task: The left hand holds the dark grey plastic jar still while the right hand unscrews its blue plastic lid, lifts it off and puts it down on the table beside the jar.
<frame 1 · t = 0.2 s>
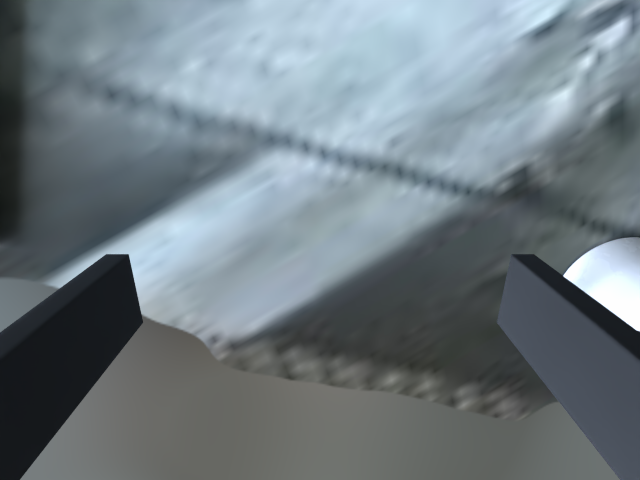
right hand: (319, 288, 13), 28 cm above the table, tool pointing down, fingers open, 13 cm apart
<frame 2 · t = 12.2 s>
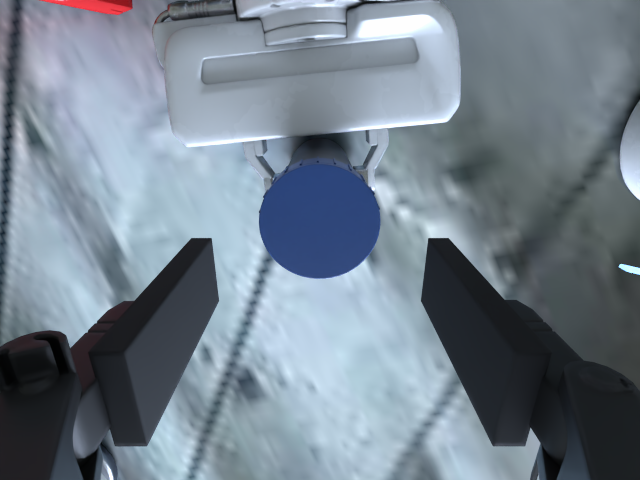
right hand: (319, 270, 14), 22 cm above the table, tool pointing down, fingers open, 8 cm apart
left hand: (321, 194, 29), fingers closed on jar, 5 cm apart
lid: (319, 222, 19), point 16 cm above the table, screwed on, not yet turned
jar: (319, 168, 34), on the table, touching left hand
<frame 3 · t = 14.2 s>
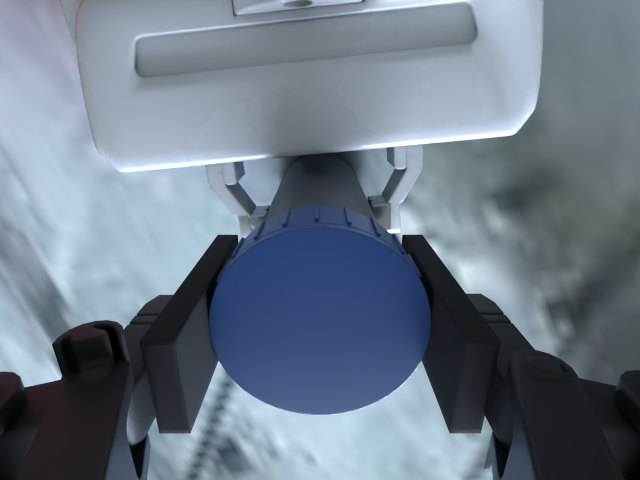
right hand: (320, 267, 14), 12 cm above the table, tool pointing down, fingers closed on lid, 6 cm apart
lid: (320, 325, 11), point 16 cm above the table, screwed on, not yet turned, touching right hand
jar: (320, 192, 26), on the table, touching left hand
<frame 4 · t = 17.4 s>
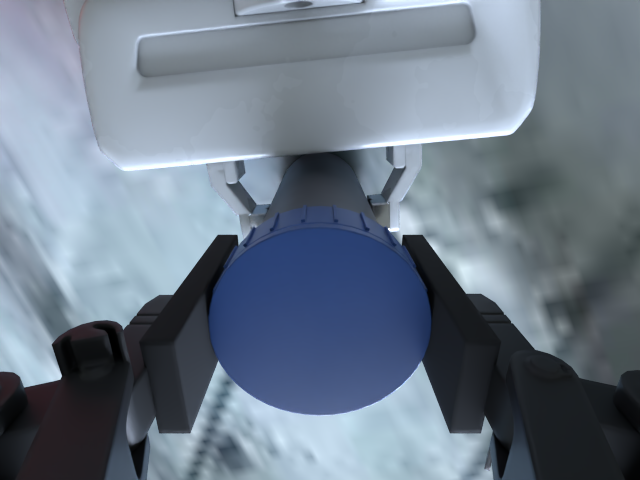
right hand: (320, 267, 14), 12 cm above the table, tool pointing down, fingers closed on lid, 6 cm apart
lid: (320, 325, 11), point 16 cm above the table, turned 85° so far, risen 0.2 cm, still on its thread, touching right hand
jar: (320, 191, 26), on the table, touching left hand
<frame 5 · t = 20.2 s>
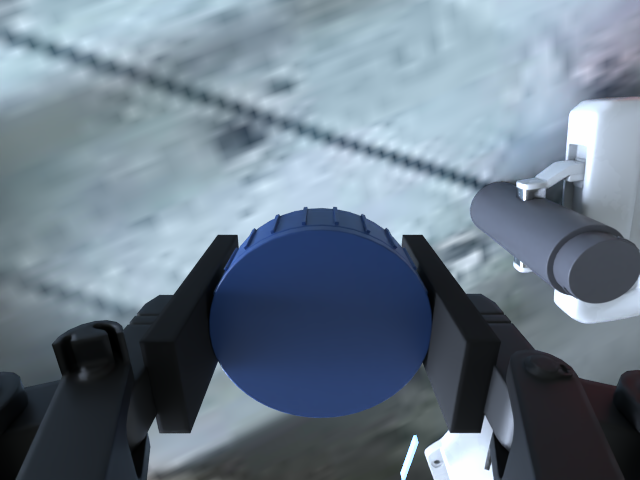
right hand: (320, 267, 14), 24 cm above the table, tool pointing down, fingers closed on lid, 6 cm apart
left hand: (517, 228, 33), fingers closed on jar, 5 cm apart
lid: (320, 327, 11), point 28 cm above the table, off its thread, touching right hand
jar: (496, 207, 39), on the table, touching left hand
when the right hand's fingers open (0 cm above the table, at t = 23.5 s): lid drops 2 cm, point 2 cm above the table.
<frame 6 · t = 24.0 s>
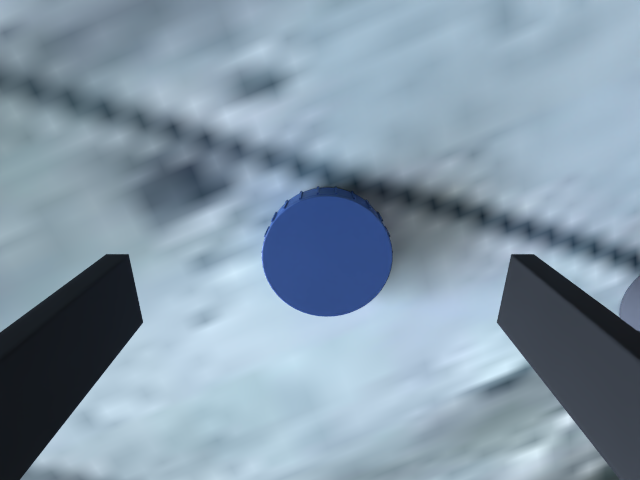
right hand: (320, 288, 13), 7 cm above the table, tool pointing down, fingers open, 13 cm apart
lid: (327, 257, 18), point 2 cm above the table, off its thread
when the left hand's fingers open (6 cm above the table, at t = 24.3 s): jar stays where it is, on the table.
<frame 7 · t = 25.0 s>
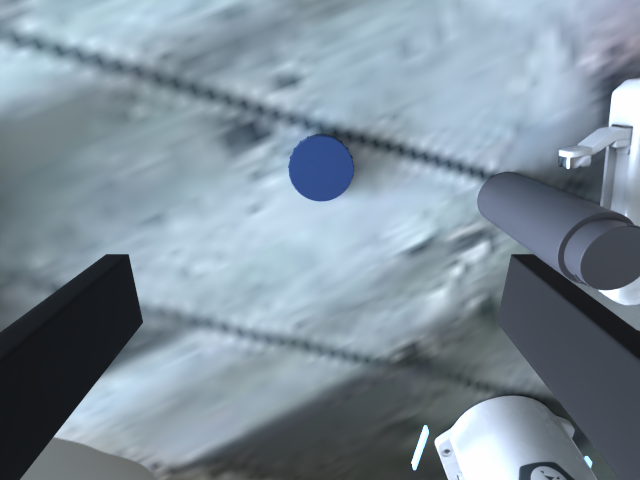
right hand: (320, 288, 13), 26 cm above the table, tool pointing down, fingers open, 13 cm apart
lid: (321, 169, 36), point 2 cm above the table, off its thread
jar: (503, 197, 39), on the table
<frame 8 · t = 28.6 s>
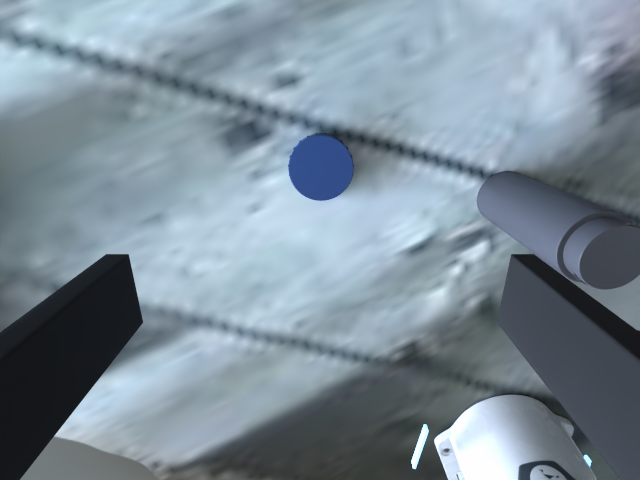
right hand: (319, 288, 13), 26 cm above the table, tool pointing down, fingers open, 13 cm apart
lid: (320, 168, 36), point 2 cm above the table, off its thread
jar: (502, 197, 39), on the table
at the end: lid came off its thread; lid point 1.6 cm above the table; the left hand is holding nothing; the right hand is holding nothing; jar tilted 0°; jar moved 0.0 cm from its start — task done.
